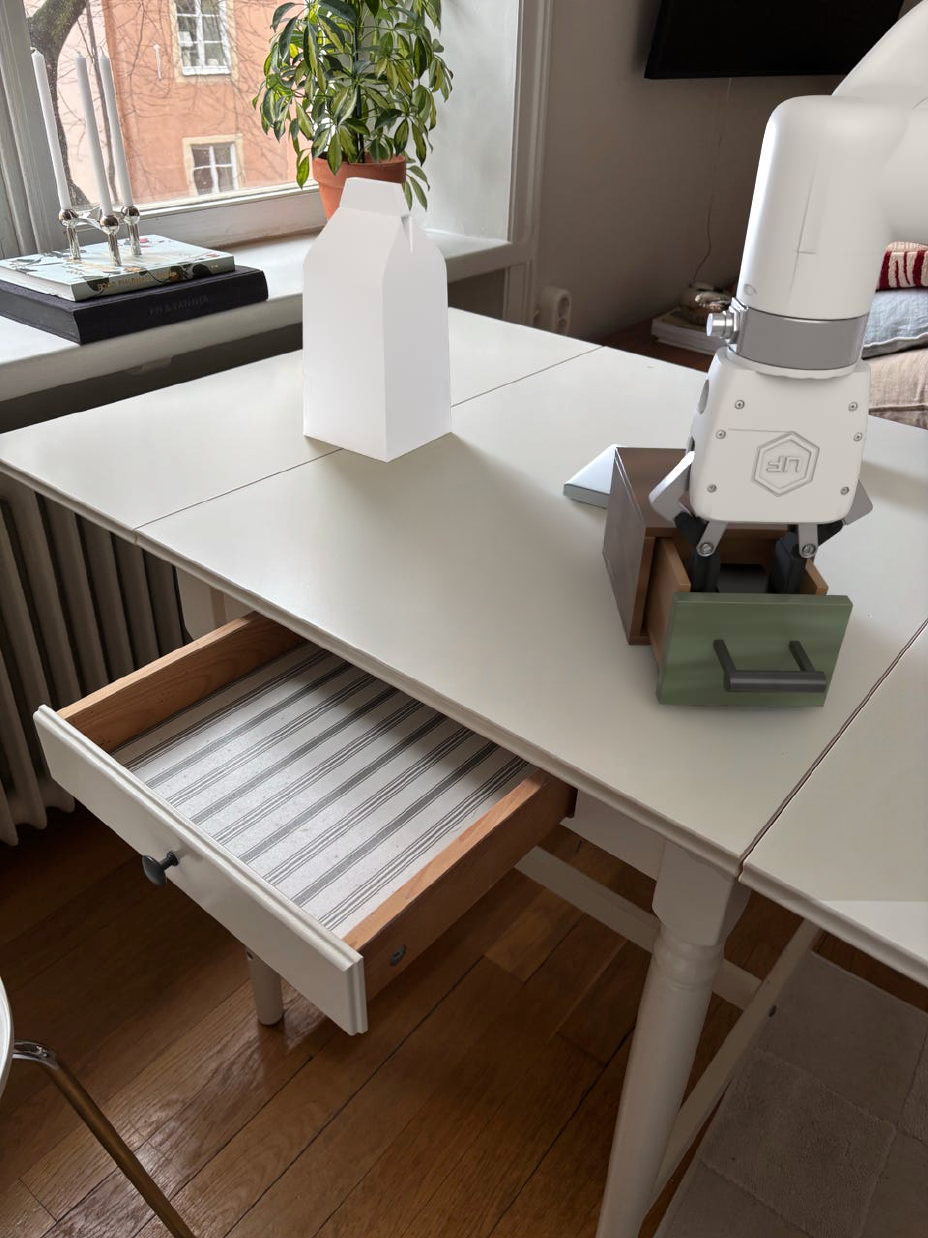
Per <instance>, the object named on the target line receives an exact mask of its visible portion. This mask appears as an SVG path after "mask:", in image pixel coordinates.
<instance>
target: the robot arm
mask: <svg viewBox="0 0 928 1238" xmlns="http://www.w3.org/2000/svg"><path fill="white" fill-rule="evenodd" d="M756 173H757V174H756V178H755V179H756V180H755V185H754V191H753V196H752V202H751V208H750V213H749V218H748V225H747V231H746V237H745V243H744V248H743V253H742V260H741V266H740V270H739V271H740V272H739V278H738V283H737V288H736V289H737V290H736V296H735V297H732V298H731V303H730V305H729V307H728V309H727V310H722V312H720V313H719V312H710V313H709V314H708V317H707V321H706V335H707V337H716V338H717V337H718V338H719V339H720V340H724V341H725V343H726V344H727V346H722V347H719V348H717V350H716V351H715V354H714V356H713V359H712V361H711V364H710V365H709V367H708V371H707V374H706V377H705V380H704V383H703V386H702V389H701V392H700V394H699V398H698V400H697V404H696V408H695V411H694V415H693V419H692V423H691V427H690V430H689V434H688V439H687V444H686V448H685V449H686V452H685V458H684V459H683V460H682V461H681V462H680V463H679V464H678V465H677V466H676V467H675V468H674V469H673V470H672V471H671V472H670V473H669V474H668V475H667V476H666V477H665V478H664V479H663V480H662V481H661V482H660V484H659V485H658V486H657V487H656V488H655V489H654V490H653V491H652V492H651V493H650V494H649V501H650V504H651V506H652V508H653V510H654V511H656V512H657V513H658V514H659V515H661V516H662V517H663V518H665V519H666V520H667V521H668V522H671V523H672V524H673V525H675V526H676V527H677V529H678V530H679V531H680V532H681V533H682V535H683V536H684V537H685V538H686V539H687V540H688V541H689V542H690V543H691V544H692V545H693V547H692V553H691V559H690V565H689V570H688V578H689V581H690V583H691V588H690V590H691V591H695V592H701V593H715V592H716V587H717V582H718V577H719V571H720V566H721V557H720V555H719V553H718V551H717V549H718V543H719V541H720V539H721V537H722V535H723V533H724V531H725V529H726V527H727V525H728V523H748V524H787V534H786V535H785V537H780V540H779V541H777V544H776V548H775V552H774V557H773V561H772V566H771V570H770V574H769V579H770V581H771V582H772V584H773V586H774V588H775V590H776V591H777V593H778V594H794V592H798V591H799V590H800V586H801V582H802V578H803V574H804V570H805V566H806V562H807V558H811V557H813V556H814V555H815V554H816V555H817V554H818V551H819V547H821V546H822V545H823V544H824V543H826V542H827V541H828V540H830V539H831V538H833V537H834V536H836V535H838V533H840V532H842V529H843V528H844V527H846V526H849V525H851V524H853V523H854V522H856V521H858V520H859V519H861V518H863V517H865V516H867V515H869V514H870V513H871V512H872V511H873V508H874V504H873V502H872V501H871V499H870V497H869V495H868V493H867V491H866V489H865V487H864V486H863V483H862V482H861V480H860V473H861V468H862V462H863V456H864V451H865V444H866V438H867V430H868V420H869V414H870V401H871V388H872V387H871V385H872V384H871V383H872V367H871V366H872V365H870V364H869V363H868V362H867V361H866V360H863V358H862V357H861V358H859V355H860V351H861V347H862V343H863V339H864V335H865V336H866V331H867V327H868V322H869V318H870V314H871V309H872V306H873V302H874V298H875V294H876V289H877V285H878V282H879V279H880V274H881V270H882V267H883V262H884V258H885V254H886V250H887V248H888V247H889V245H891V244H892V243H898V242H901V243H911V244H920V245H928V0H921V1H920V2H919V3H917V4H916V5H915V6H914V7H912V8H911V9H910V10H909V11H908V12H907V13H906V14H904V15H903V16H902V17H901V18H899V20H898V21H896V23H894V25H892V26H891V28H890V29H888V31H886V32H885V33H884V35H883V36H882V37H881V38H880V39H879V40H878V41H877V42H876V43H875V44H874V45H873V46H872V48H871V49H869V51H868V52H867V53H866V54H865V55H864V56H863V57H862V58H861V60H860V61H858V63H857V64H856V65H855V67H853V68H852V69H851V70H850V72H849V73H848V74H847V76H845V78H844V79H843V80H842V81H841V82H840V83H839V85H838V86H837V87H836V88H835V89H834V91H833V92H832V94H831V95H829V94H816V95H815V94H813V95H811V94H810V95H802V96H795V97H791V98H788V99H786V100H784V101H783V102H781V103H780V104H778V105H777V106H776V107H775V109H774V110H773V111H772V113H771V115H770V117H769V119H768V121H767V123H766V127H765V132H764V136H763V140H762V145H761V151H760V157H759V161H758V168H757V172H756ZM686 491H688V492H689V493H690V503H691V506H692V508H693V510H694V511H695V513H696V514H695V515H694V514H693V512H692V511H691V510H690V509H689V508H688V507H687V506H685V505H682V504H681V503H680V502H679V499H680V497H681V496H682V495H683V494H684V493H685V492H686ZM816 555H815V556H816Z"/></svg>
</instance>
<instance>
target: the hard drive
mask: <svg viewBox="0 0 928 1238" xmlns="http://www.w3.org/2000/svg"><path fill="white" fill-rule="evenodd" d="M615 447H627V446H626V445H621V444H617V443H616V444H615V443H613V444H611V445H610V446H609V447H607V448H606V449H605V450H604V451H603V452H601V453H600V454H598V456H596V457H595V458H594V459H593V460H592V461H590V462H589V463H588V464H586V466H584V467H583V468H582V469H580V470H579V471H578V472H576V473H575V475H573V476H572V477H570V478H569V479H568V480H567V481H566V482H564V484H563V488H562V489H563V490H562V495H563V496H564V497H566V498H567V499H572V500H575V501H579V502H583V503H586V504H589V505H593V506H597V507H601V508H604V509H608V503H609V495H610V486H611V478H612V470H613V462H614V454H615Z"/></svg>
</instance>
